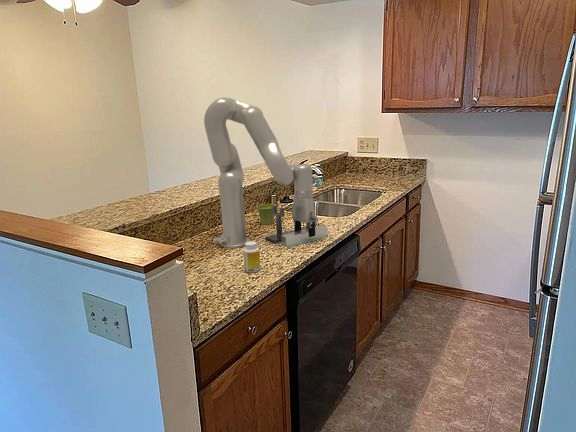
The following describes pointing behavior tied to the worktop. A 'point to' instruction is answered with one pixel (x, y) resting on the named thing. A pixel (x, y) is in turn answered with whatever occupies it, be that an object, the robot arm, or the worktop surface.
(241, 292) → the worktop surface
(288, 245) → the rubber mat
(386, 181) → the worktop surface
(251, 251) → the supplement bottle
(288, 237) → the pale grey bar
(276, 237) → the hook rack
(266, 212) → the plant pot
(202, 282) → the worktop surface
